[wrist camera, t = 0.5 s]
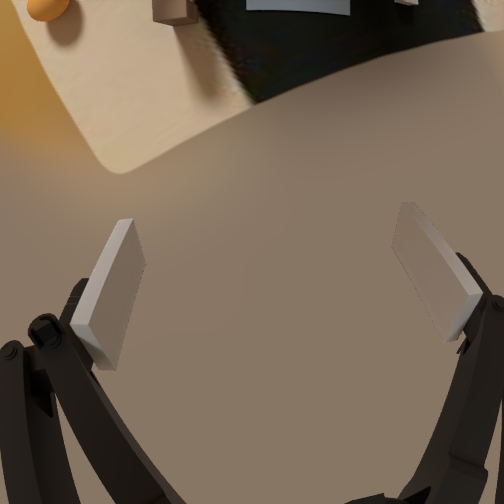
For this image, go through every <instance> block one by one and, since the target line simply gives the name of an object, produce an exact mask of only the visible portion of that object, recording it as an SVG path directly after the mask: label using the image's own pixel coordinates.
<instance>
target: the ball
mask: <svg viewBox="0 0 504 504" xmlns="http://www.w3.org/2000/svg"><path fill="white" fill-rule="evenodd" d="M69 1H70V0H28V3H27V10H28V13H29V15H30V16H31V17H32V18H33V19H35V20H37V21H42V22H43V21H50V20H52V19H55V18H56V17H58V16H59V15H61V14H62V13H63V12H64V11H65V9H66V8H67V6H68V4H69Z"/></svg>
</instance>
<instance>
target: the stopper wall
mask: <svg viewBox="0 0 504 504" xmlns="http://www.w3.org/2000/svg"><path fill="white" fill-rule="evenodd" d="M394 2H396V3H400V4H405V5H418V0H394Z"/></svg>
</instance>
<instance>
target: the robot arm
mask: <svg viewBox="0 0 504 504" xmlns="http://www.w3.org/2000/svg"><path fill="white" fill-rule="evenodd" d="M392 249H393V251H394V252H395V254H396V256H397V257H398V259H399V261H400V262H401V264H402V266H403V267H404V269H405V271H406V273H407V274H408V276H409V278H410V280H411V282H412V283H413V285H414V287H415V289H416V290H417V292H418V294H419V296H420V298H421V300H422V302H423V304H424V305H425V307H426V309H427V311H428V313H429V315H430V317H431V319H432V321H433V323H434V325H435V327H436V329H437V331H438V332H439V335H440V337H441V339H442V341H443V343H446V342H450V341H454V340H457V339H458V338H459V336H460V334H461V333H462V331H464V333H465V335H466V338H465V340H464V341H463V343H462V344H461V346H460V348H459V349H458V351H457V354H459V352H460V351H461V352H460V356H459V360H458V363H457V367H456V370H455V373H454V377H453V380H452V383H451V386H450V389H449V392H448V395H447V398H446V401H445V403H444V406H443V409H442V412H441V414H440V417H439V420H438V422H437V425H436V427H435V430H434V432H433V435H432V437H431V439H430V441H429V444H428V446H427V448H426V451H425V453H424V455H423V457H422V459H421V461H420V464H419V466H418V468H417V470H416V472H415V474H414V476H413V477H412V479H411V480H410V481H409V483H408V484H407V485H406V486H405V487H404V489H403V490H402V492H401V493H400V495H399V497H398V498H397V499H396V498H387V497H385V496H384V493H381V494H378V495H374V496H369V497H365V498H361V499H357V500H352V501H350V502H348V503H345V504H478V503H479V500H480V498H481V495H482V493H483V490H484V487H485V485H486V482H487V478H488V471H487V470H486V469H485V468H484V464H485V460H486V457H487V454H488V450H489V447H490V444H491V440H492V437H493V433H494V429H495V425H496V421H497V417H498V413H499V408H500V403H501V399H502V432H501V451H500V463H499V472H498V481H497V489H496V496H495V504H504V298H503V297H501V296H499V295H492V293H491V291H490V290H489V288H488V287H487V286H486V284H485V283H484V281H483V280H482V278H481V277H480V276H479V275H478V274H477V272H476V270H475V269H474V268H473V266H472V265H471V263H470V262H469V261H468V259H466V258H465V257H464V256H463V255H461V254H460V253H455V252H454V251H453V250H452V249H451V247H450V246H449V245H448V243H447V242H446V241H445V239H444V238H443V237H442V236H441V234H440V233H439V232H438V231H437V229H436V228H435V227H434V226H433V224H432V223H431V222H430V221H429V220H428V219H427V217H426V216H425V215H424V214H423V212H421V210H420V209H419V208H418V207H417V205H416V204H415V203H401V207H400V212H399V217H398V221H397V226H396V231H395V235H394V239H393V244H392ZM145 265H146V262H145V258H144V255H143V251H142V248H141V245H140V241H139V238H138V234H137V230H136V227H135V223H134V220H133V218H132V219H123V220H119V221H118V223H117V225H116V226H115V228H114V230H113V232H112V234H111V236H110V238H109V240H108V242H107V244H106V246H105V248H104V250H103V251H102V254H101V256H100V258H99V260H98V262H97V264H96V266H95V268H94V270H93V272H92V274H91V276H90V278H82V279H81V280H80V281H79V282H78V283H77V284H76V285H75V286H74V288H73V290H72V292H71V295H70V297H69V299H68V301H67V305H65V307H64V310H63V312H62V314H61V316H60V318H59V321H58V319H57V318H56V316H55V315H53V314H50V313H47V314H42V315H40V316H38V317H37V318H36V319H34V320H33V321H32V323H31V324H30V326H29V328H28V336H29V337H30V339H31V340H32V342H33V343H34V344H35V345H33V346H30V347H25V348H24V346H23V345H22V344H21V343H20V342H19V341H16V340H13V341H9V342H8V343H6V344H5V345H4V346H3V347H2V348H1V350H0V451H1V460H2V467H3V474H4V480H5V485H6V491H7V496H8V501H9V504H81V503H80V500H79V497H78V494H77V490H76V487H75V484H74V480H73V477H72V473H71V469H70V466H69V462H68V458H67V454H66V449H65V445H64V440H63V436H62V431H61V426H60V421H59V416H58V410H57V404H56V397H55V394H56V396H57V398H58V400H59V403H60V405H61V407H62V409H63V411H64V414H65V416H66V418H67V420H68V422H69V424H70V426H71V428H72V430H73V432H74V434H75V436H76V438H77V440H78V442H79V444H80V446H81V447H82V449H83V451H84V453H85V455H86V457H87V458H88V460H89V462H90V464H91V465H92V467H93V469H94V470H95V472H96V474H97V475H98V477H99V479H100V480H101V482H102V484H103V485H104V486H105V488H106V490H107V491H108V493H109V494H110V496H111V497H112V499H113V500H114V502H115V503H116V504H186V503H185V502H184V500H183V499H182V498H181V497H180V496H179V495H178V494H177V492H176V491H175V490H174V489H173V488H172V486H171V485H170V484H169V483H168V482H167V480H166V479H165V478H164V477H163V475H162V474H161V473H160V472H159V470H158V469H157V468H156V467H155V465H154V464H153V463H152V461H151V460H150V459H149V457H148V456H147V455H146V453H145V452H144V451H143V449H142V448H141V447H140V445H139V444H138V442H137V441H136V440H135V438H134V437H133V435H132V434H131V433H130V431H129V429H128V428H127V427H126V425H125V424H124V422H123V420H122V419H121V417H120V416H119V415H118V413H117V411H116V410H115V408H114V407H113V405H112V403H111V402H110V400H109V398H108V397H107V395H106V394H105V392H104V390H103V389H102V387H101V385H100V383H99V382H98V380H97V378H96V377H95V375H94V373H93V372H92V370H91V368H92V365H93V361H94V363H95V364H96V366H97V367H98V368H99V370H114V371H116V368H117V364H118V360H119V356H120V352H121V348H122V344H123V340H124V337H125V333H126V329H127V325H128V322H129V318H130V315H131V311H132V308H133V304H134V301H135V298H136V294H137V291H138V288H139V284H140V281H141V278H142V275H143V272H144V268H145Z"/></svg>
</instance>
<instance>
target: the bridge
mask: <svg viewBox="0 0 504 504" xmlns="http://www.w3.org/2000/svg"><path fill="white" fill-rule="evenodd" d="M152 9H153V21H154V22H158V23H162V24H166V25H170V26H176V25H184V24H193V23H198V8H197V7H196V6H195V5H194V4H193V3H192V2H191V1H190V0H152Z"/></svg>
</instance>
